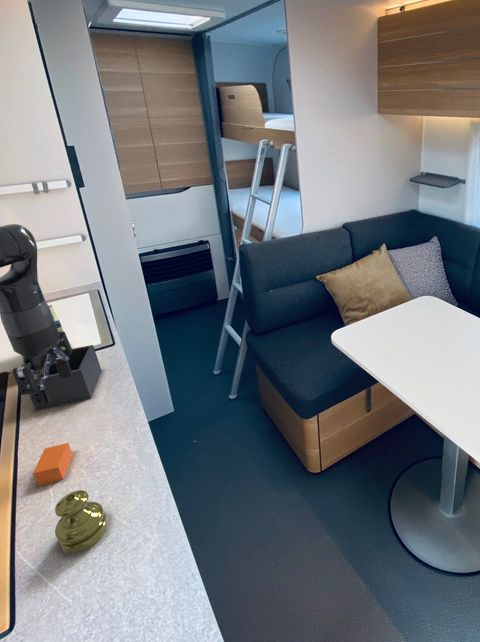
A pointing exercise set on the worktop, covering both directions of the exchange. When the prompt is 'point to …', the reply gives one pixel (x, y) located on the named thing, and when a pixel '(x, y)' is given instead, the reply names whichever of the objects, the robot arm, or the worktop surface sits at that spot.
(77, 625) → the worktop surface
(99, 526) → the olive gold metallic knob
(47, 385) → the trash bin
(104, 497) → the worktop surface
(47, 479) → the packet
